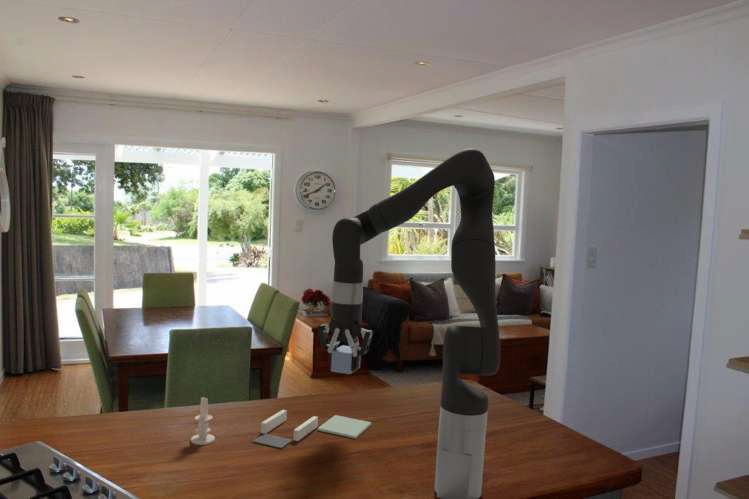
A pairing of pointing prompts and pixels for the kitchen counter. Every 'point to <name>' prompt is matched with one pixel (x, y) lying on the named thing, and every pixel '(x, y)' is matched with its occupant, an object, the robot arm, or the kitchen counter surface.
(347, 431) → the tile
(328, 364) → the robot arm
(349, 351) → the block
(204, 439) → the white ringed tapered column
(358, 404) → the kitchen counter surface
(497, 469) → the kitchen counter surface
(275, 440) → the channel
